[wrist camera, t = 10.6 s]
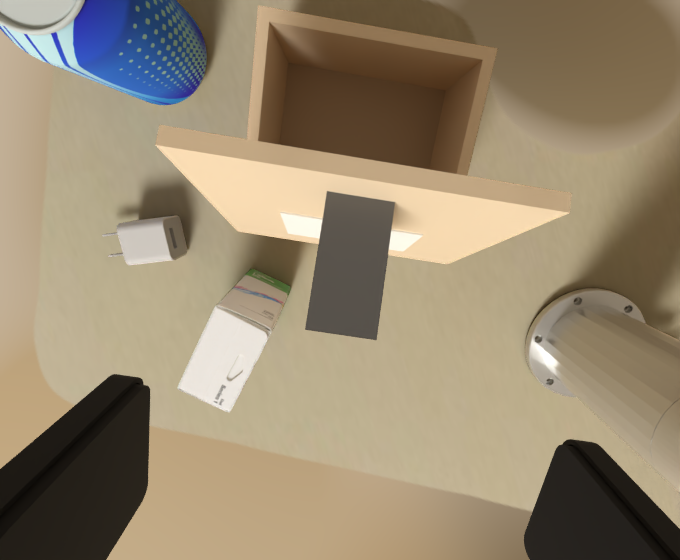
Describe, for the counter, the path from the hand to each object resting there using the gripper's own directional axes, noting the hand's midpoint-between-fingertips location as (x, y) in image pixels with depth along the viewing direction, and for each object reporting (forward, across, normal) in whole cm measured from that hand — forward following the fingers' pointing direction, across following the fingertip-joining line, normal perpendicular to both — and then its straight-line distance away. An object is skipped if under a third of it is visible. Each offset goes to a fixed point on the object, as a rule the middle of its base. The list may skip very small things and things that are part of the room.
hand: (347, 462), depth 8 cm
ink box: (+31, +8, +9) cm, 34 cm away
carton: (+31, 0, -9) cm, 32 cm away
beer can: (+31, +19, -14) cm, 39 cm away
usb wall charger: (+31, +20, +3) cm, 37 cm away
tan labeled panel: (+14, 0, -4) cm, 15 cm away
